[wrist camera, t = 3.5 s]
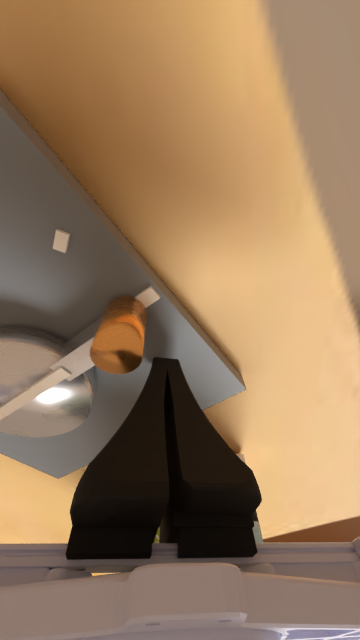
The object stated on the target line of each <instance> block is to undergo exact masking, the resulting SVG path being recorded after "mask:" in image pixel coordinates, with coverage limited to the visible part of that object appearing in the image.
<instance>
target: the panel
mask: <svg viewBox="0 0 360 640" xmlns="http://www.w3.org/2000/svg"><path fill="white" fill-rule="evenodd" d="M119 296H130V297H134V298H136V299H138V300H139V301H140V302H142V303H143V305H144V306H145V308H146V310H147V321H146V330H145V339H144V348H143V357H142V362H141V364H140V365H139V367H138V368H137V369H135V370H134V371H132V372H129V373H126V374H111V373H108V372H105V371H103V370H101V369H99V368H98V367H97V366H96V365H95V366H93V368H94V370H95V373H96V376H97V388H96V392H95V395H94V399H93V402H92V406H91V409H90V413H89V415H88V417H87V419H86V420H85V421H84V422H83V423H82V424H81V425H80V426H78V427H77V428H75V429H74V430H71V431H69V432H67V433H64V434H60V435H56V436H49V437H24V436H17V435H12V434H7V433H4V432H0V453H1V454H3V455H5V456H8V457H10V458H12V459H14V460H17V461H19V462H21V463H24V464H26V465H28V466H30V467H33V468H35V469H37V470H39V471H42V472H44V473H46V474H48V475H51V476H53V477H55V478H58V479H59V478H61V477H63V476H65V475H67V474H69V473H71V472H73V471H76V470H78V469H80V468H82V467H84V466H86V465H88V464H89V463H90V462H91V461H92V460H93V459H94V458H95V457H96V456H97V454H98V453H99V452H100V451H101V450H102V449H103V448H104V447H105V445H106V444H107V443H108V442H109V440H110V439H111V438H112V437H113V435H114V434H115V433H116V431H117V430H118V429H119V427H120V426H121V425H122V423H123V422H124V420H125V419H126V417H127V416H128V414H129V413H130V411H131V409H132V408H133V406H134V404H135V403H136V401H137V399H138V397H139V395H140V393H141V391H142V389H143V387H144V385H145V383H146V380H147V378H148V376H149V373H150V370H151V366H152V360H153V358H154V357H160V358H171V359H178V360H179V362H180V365H181V368H182V371H183V373H184V376H185V378H186V380H187V383H188V385H189V387H190V389H191V391H192V393H193V395H194V397H195V399H196V401H197V402H198V404H199V406H200V408H201V409H202V410H204V409H206V408H208V407H210V406H213V405H215V404H217V403H219V402H221V401H223V400H225V399H227V398H229V397H231V396H234V395H236V394H238V393H240V392H242V391H244V390H246V387H245V384H244V381H243V378H242V375H241V374H240V373H239V372H238V371H237V369H236V368H235V367H234V366H233V365H232V363H231V362H230V361H229V360H228V359H227V358H226V356H225V355H224V354H223V353H222V352H221V350H220V349H219V348H218V347H217V346H216V344H215V343H214V342H213V341H212V340H211V339H210V337H209V336H208V335H207V334H206V333H205V331H204V330H203V329H202V328H201V327H200V325H199V324H198V323H197V322H196V321H195V320H194V318H193V317H192V316H191V315H190V314H189V312H188V311H187V310H186V309H185V308H184V306H183V305H182V304H181V303H180V302H179V301H178V299H177V298H176V297H175V296H174V295H173V293H172V292H171V291H170V290H169V289H168V287H167V286H166V285H165V284H164V283H163V282H162V280H161V279H160V278H159V277H158V276H157V274H156V273H155V272H154V271H153V270H152V268H151V267H150V266H149V265H148V264H147V263H146V261H145V260H144V259H143V258H142V257H141V255H140V254H139V253H138V252H137V251H136V249H135V248H134V247H133V246H132V245H131V244H130V242H129V241H128V240H127V239H126V238H125V236H124V235H123V234H122V233H121V232H120V230H119V229H118V228H117V227H116V226H115V225H114V223H113V222H112V221H111V220H110V219H109V217H108V216H107V215H106V214H105V213H104V211H103V210H102V209H101V208H100V207H99V206H98V204H97V203H96V202H95V201H94V200H93V198H92V197H91V196H90V195H89V194H88V192H87V191H86V190H85V189H84V188H83V187H82V185H81V184H80V183H79V182H78V181H77V179H76V178H75V177H74V176H73V175H72V173H71V172H70V171H69V170H68V169H67V168H66V166H65V165H64V164H63V163H62V162H61V160H60V159H59V158H58V157H57V156H56V154H55V153H54V152H53V151H52V150H51V148H50V147H49V146H48V145H47V144H46V143H45V141H44V140H43V139H42V138H41V137H40V135H39V134H38V133H37V132H36V131H35V129H34V128H33V127H32V126H31V125H30V124H29V122H28V121H27V120H26V119H25V118H24V116H23V115H22V114H21V113H20V112H19V110H18V109H17V108H16V107H15V106H14V105H13V103H12V102H11V101H10V100H9V99H8V97H7V96H6V95H5V94H4V93H3V91H2V90H1V89H0V328H2V327H24V328H31V329H36V330H40V331H44V332H47V333H50V334H52V335H55V336H57V337H59V338H61V339H63V340H65V341H68V340H69V339H71V338H72V337H74V336H75V335H76V334H78V333H79V332H81V331H82V330H84V329H85V328H86V327H88V326H89V325H91V324H92V323H94V322H95V321H96V320H98V319H99V318H101V317H102V316H103V314H104V311H105V308H106V306H107V304H108V303H109V302H110V301H111V300H112V299H113V298H116V297H119Z"/></svg>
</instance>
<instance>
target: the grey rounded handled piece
mask: <svg viewBox="0 0 360 640" xmlns="http://www.w3.org/2000/svg"><path fill="white" fill-rule="evenodd" d="M146 321H147V310H146V308H145V306H144V305H143V303H142V302H140V301H139V300H138V299H136V298H134V297H130V296H119V297H116V298H113V299H112V300H111V301H110V302H109V303H108V304H107V306H106V308H105V311H104V314H103V316H102V317H101V318H99V319H98V320H96V321H95V322H94V323H92V324H91V325H89V326H88V327H86V328H85V329H84V330H82V331H81V332H79V333H78V334H76V335H75V336H74V337H72V338H71V339H69V340H68V341H65V340H63V339H61V338H59V337H57V336H55V335H52V334H50V333H47V332H44V331H40V330H36V329H31V328H24V327H2V328H0V432H4V433H7V434H12V435H17V436H24V437H49V436H56V435H60V434H64V433H67V432H69V431H71V430H74V429H75V428H77V427H78V426H80V425H81V424H82V423H83V422H84V421H85V420H86V419H87V417H88V415H89V413H90V409H91V406H92V402H93V399H94V395H95V392H96V388H97V376H96V373H95V370H94V368H93V366H95V365H96V366H97V367H98V368H99V369H101V370H103V371H105V372H108V373H111V374H126V373H129V372H132V371H134V370H135V369H137V368H138V367H139V365H140V364H141V362H142V357H143V348H144V339H145V330H146Z"/></svg>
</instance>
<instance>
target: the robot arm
mask: <svg viewBox="0 0 360 640" xmlns="http://www.w3.org/2000/svg"><path fill="white" fill-rule="evenodd" d="M261 501H262V498H261V493H260V490H259V486H258V484H257V481H256V479H255V476H254V474H253V471H252V470H251V469H250V468H249V467H248V466H247V465H246V464H245V463H244V462H243V461H242V460H241V459H240V458H239V457H238V456H237V455H236V454H235V453H234V452H233V450H232V449H231V448H230V447H229V446H228V445H227V444H226V442H225V441H224V440H223V439H222V437H221V436H220V435H219V434H218V432H217V431H216V430H215V429H214V427H213V426H212V424H211V423H210V422H209V420H208V419H207V417H206V416H205V414H204V412H203V411H202V409H201V408H200V406H199V404H198V402H197V401H196V399H195V397H194V395H193V393H192V391H191V389H190V387H189V385H188V383H187V380H186V378H185V376H184V373H183V371H182V368H181V365H180V362H179V360H178V359H171V358H160V357H154V358H153V360H152V366H151V370H150V373H149V376H148V378H147V380H146V383H145V385H144V387H143V389H142V391H141V393H140V395H139V397H138V399H137V401H136V403H135V404H134V406H133V408H132V409H131V411H130V413H129V414H128V416H127V417H126V419H125V420H124V422H123V423H122V425H121V426H120V427H119V429H118V430H117V431H116V433H115V434H114V435H113V437H112V438H111V439H110V440H109V442H108V443H107V444H106V445H105V447H104V448H103V449H102V450H101V451H100V452H99V453H98V454H97V456H96V457H95V458H94V459H93V460H92V461H91V462H90V463H89V465H88V467H87V469H86V470H85V472H84V474H83V476H82V478H81V480H80V482H79V484H78V486H77V488H76V491H75V493H74V497H73V501H72V505H71V509H70V515H71V520H72V530H71V534H70V538H69V542H68V544H0V640H360V537H358V538H356V539H354V540H353V542H340V543H339V542H335V543H334V542H329V543H328V542H321V543H320V542H317V543H316V542H315V543H256V542H255V538H254V534H253V529H252V528H253V527H254V521H253V517H252V514H253V513H254V511H255V510H256V509H257V508H258V506H259V505H260V503H261ZM159 527H160V536H159V543H154V540H155V537H156V534H157V531H158V528H159ZM117 572H124V573H117ZM91 573H115V574H106V575H98V576H92V574H91Z"/></svg>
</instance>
